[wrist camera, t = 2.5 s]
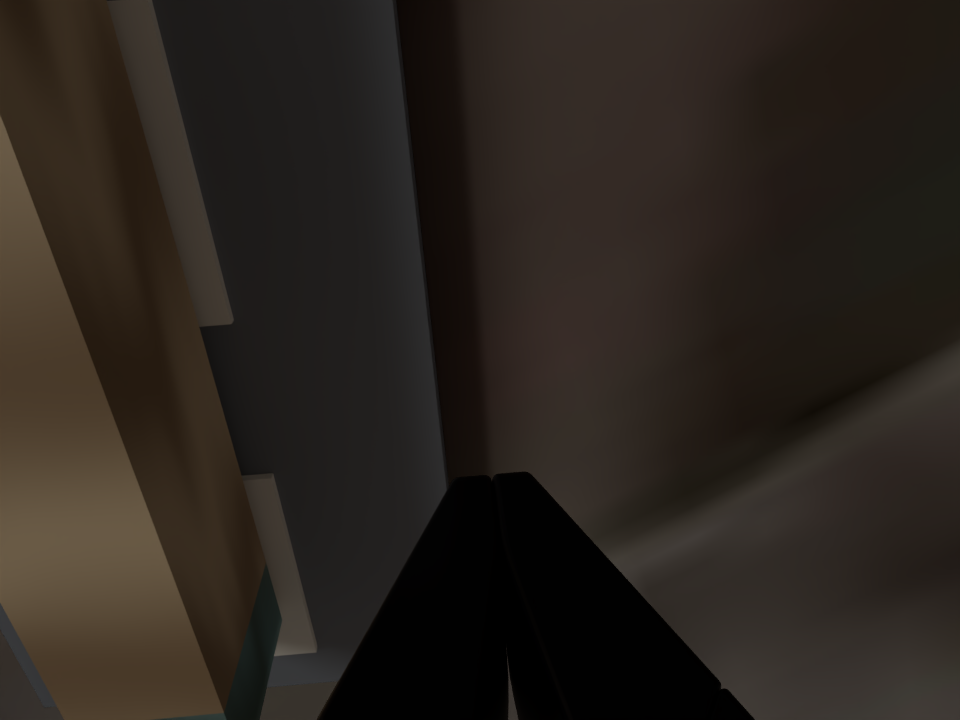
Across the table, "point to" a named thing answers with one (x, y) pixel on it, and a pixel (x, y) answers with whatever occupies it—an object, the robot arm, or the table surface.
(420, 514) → the label board
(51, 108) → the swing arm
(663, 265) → the table surface
